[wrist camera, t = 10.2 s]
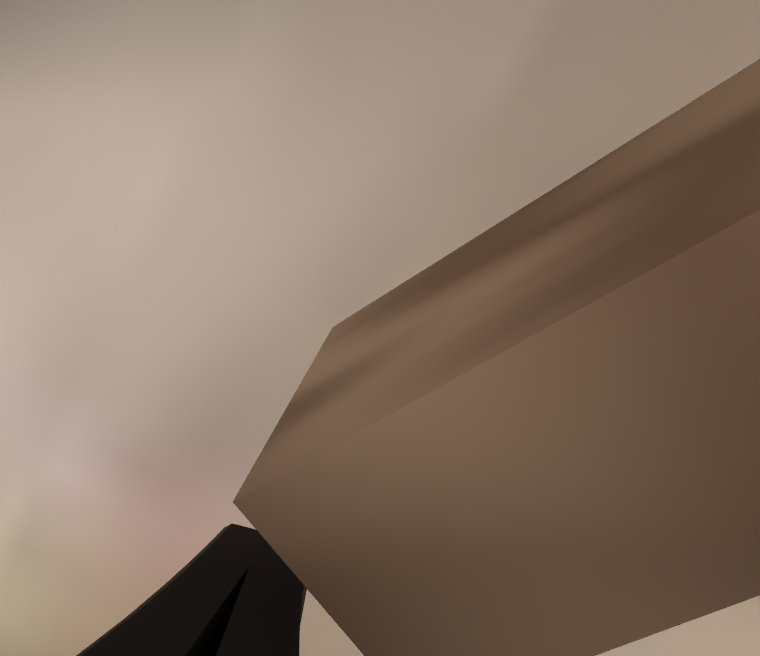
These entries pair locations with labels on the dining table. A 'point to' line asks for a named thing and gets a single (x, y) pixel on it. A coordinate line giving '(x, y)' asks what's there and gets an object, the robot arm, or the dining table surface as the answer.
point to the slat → (545, 416)
